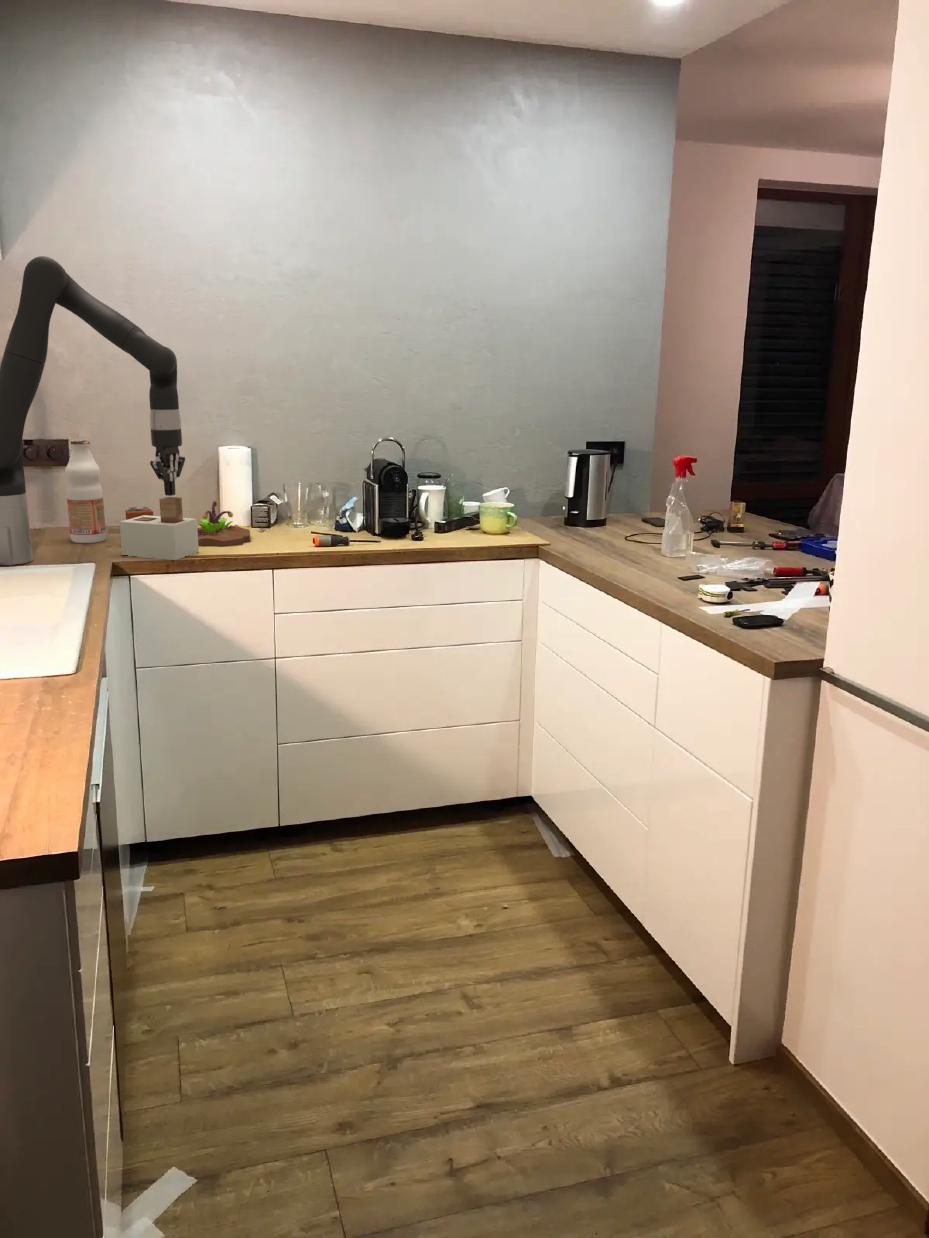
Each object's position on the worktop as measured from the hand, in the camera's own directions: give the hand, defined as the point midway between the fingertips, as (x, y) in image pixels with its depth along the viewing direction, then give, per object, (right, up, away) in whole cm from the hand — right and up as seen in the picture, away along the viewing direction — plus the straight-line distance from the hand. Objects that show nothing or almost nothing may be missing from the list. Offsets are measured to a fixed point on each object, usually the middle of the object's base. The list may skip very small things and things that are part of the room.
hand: (170, 495), depth 256 cm
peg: (0, -10, +3) cm, 10 cm away
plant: (+6, -10, +25) cm, 28 cm away
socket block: (-4, -15, +5) cm, 16 cm away
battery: (-14, -11, +20) cm, 27 cm away
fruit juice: (-29, -10, +22) cm, 38 cm away
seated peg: (-8, -15, +6) cm, 18 cm away
